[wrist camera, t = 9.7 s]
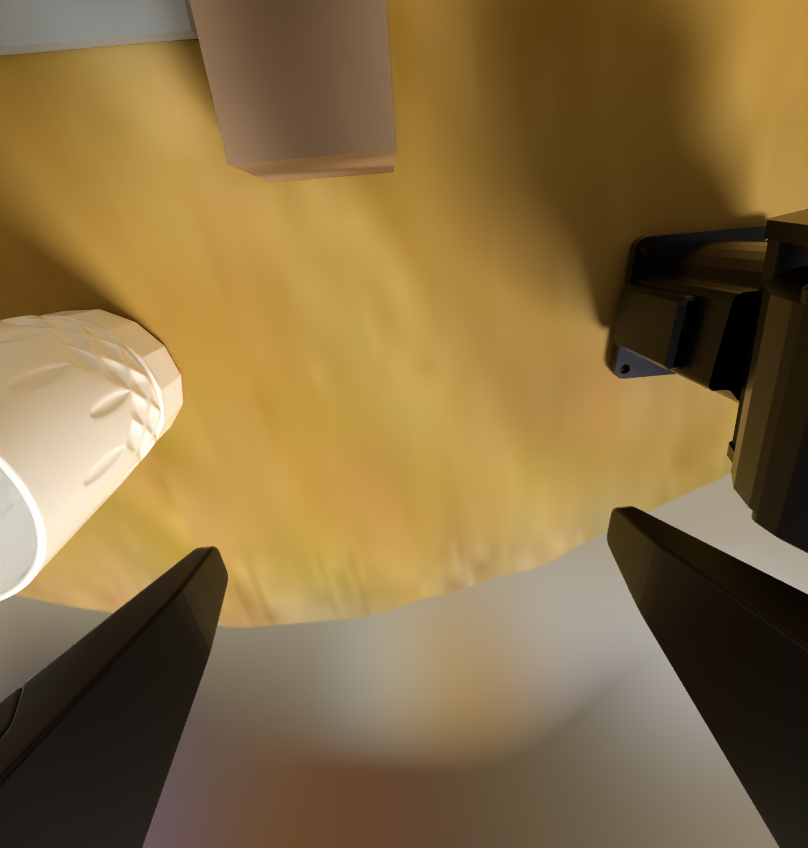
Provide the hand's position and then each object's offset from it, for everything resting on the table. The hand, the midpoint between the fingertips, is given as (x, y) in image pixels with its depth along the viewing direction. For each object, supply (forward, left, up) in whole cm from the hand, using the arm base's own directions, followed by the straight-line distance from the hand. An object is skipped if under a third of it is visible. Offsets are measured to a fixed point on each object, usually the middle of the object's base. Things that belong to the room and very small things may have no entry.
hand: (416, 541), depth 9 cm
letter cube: (+2, -11, -12) cm, 16 cm away
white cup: (+14, -1, -12) cm, 19 cm away
